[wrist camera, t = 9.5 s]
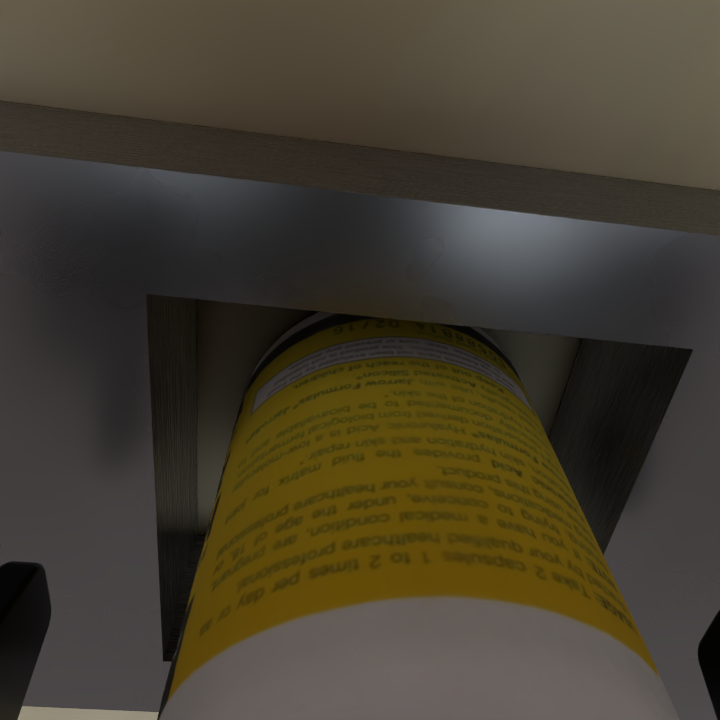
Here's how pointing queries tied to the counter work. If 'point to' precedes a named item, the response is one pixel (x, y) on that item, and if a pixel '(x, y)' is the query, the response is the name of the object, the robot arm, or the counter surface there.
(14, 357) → the grey slab with hole
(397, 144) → the counter surface
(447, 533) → the supplement bottle
